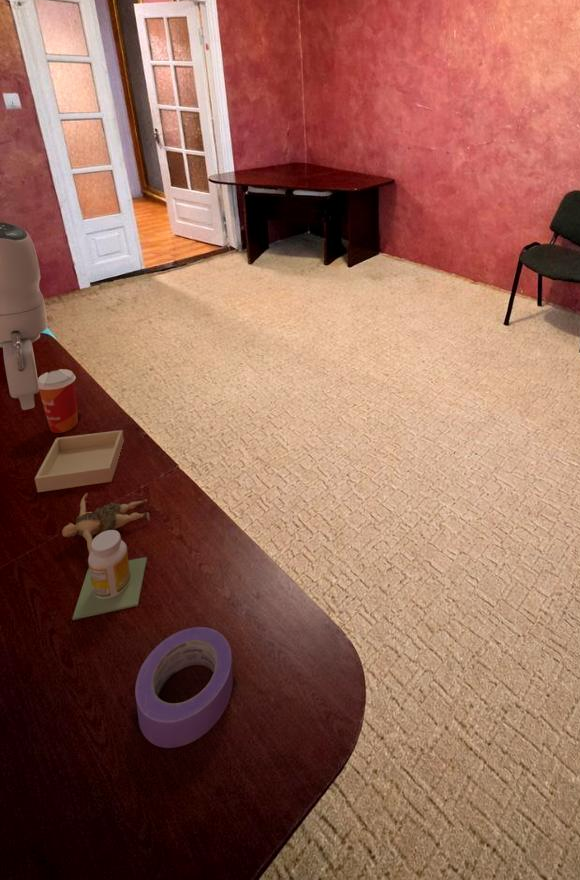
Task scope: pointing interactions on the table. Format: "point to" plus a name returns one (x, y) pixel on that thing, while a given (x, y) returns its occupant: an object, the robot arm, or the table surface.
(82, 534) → the figurine
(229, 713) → the table surface
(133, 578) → the mat
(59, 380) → the paper cup
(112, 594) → the supplement bottle
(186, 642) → the tape roll
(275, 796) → the table surface
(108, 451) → the tray
